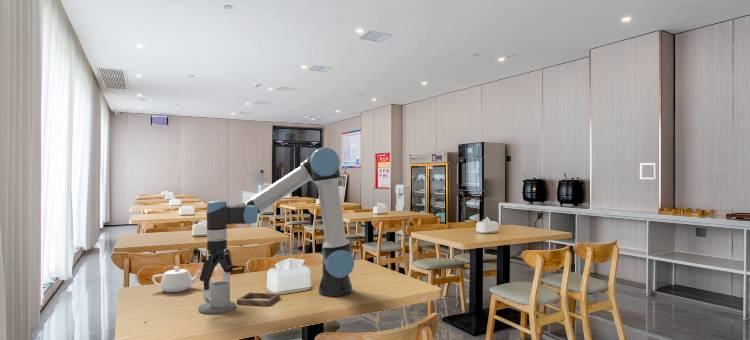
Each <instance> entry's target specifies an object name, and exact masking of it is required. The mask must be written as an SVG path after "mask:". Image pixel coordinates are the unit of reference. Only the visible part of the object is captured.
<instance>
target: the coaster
mask: <svg viewBox="0 0 750 340" xmlns="http://www.w3.org/2000/svg"><path fill="white" fill-rule="evenodd" d="M236 305H237V303H236V302H234V301H232V300H230V305H229V306H228V307H225V308H218V309H216V308H212V307H211V303H207V302H205V303H201V304H200V305H199V306H198V307H197V311H198V313H199V314H200V313H201V314H204V315H206V314H207V315H214V314H215V315H216V314H224V313H227V312H231V311H232V310H234V309H235V308H236Z"/></svg>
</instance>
